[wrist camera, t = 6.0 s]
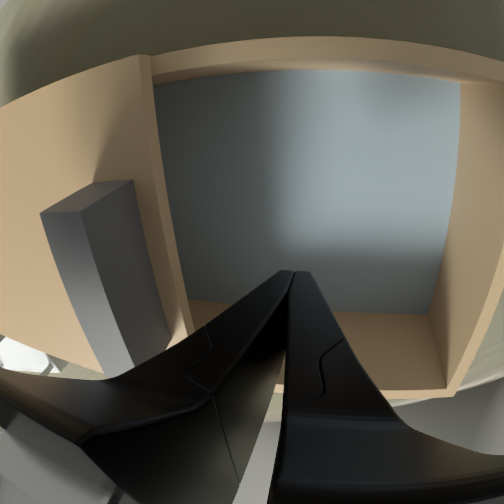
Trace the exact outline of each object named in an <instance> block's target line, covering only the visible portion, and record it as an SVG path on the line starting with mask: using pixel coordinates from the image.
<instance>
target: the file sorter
mask: <svg viewBox="0 0 504 504" xmlns="http://www.w3.org/2000/svg"><path fill="white" fill-rule="evenodd" d="M67 364H68V361H65V360H63V359H60V358H57V357H54V356H52V355H49V354H46V353H44V352H41V351H39V350H36V349H34V348H31V347H29V346H26V345H24V344H22V343H19V342H17V341H15V340H12V339H10V338H8V337H5V336H3V335H1V334H0V367H3V368H4V369H7V370H15V371H29V372H42V373H41V374H40V376H47V375H48V374H49V373H60V372H61V371H62V370H63V369H64V368H65V367H66V366H67ZM2 430H3V428H2V427H1V426H0V433H1V431H2Z"/></svg>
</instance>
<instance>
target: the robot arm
mask: <svg viewBox="0 0 504 504" xmlns="http://www.w3.org/2000/svg"><path fill="white" fill-rule="evenodd" d="M284 358H285V372H284V389H283V408H282V420H281V429H280V435H279V441H278V447H277V452H276V458H275V463H274V469H273V474H272V479H271V484H270V489H269V495H268V500H267V504H504V455H489V454H483V453H479V452H475V451H472V450H469V449H466V448H463V447H460V446H457V445H455V444H451V443H449V442H446V441H443V440H440V439H438V438H435V437H432V436H430V435H427V434H424V433H422V432H419V431H417V430H414V429H413V428H411V427H410V426H408V425H407V424H406V423H405V422H404V421H403V420H401V418H400V417H399V416H398V415H397V413H396V412H395V411H394V409H393V408H392V407H391V405H390V404H389V403H388V401H387V400H386V398H385V397H384V396H383V394H382V393H381V392H380V390H379V389H378V388H377V386H376V385H375V383H374V382H373V381H372V379H371V378H370V377H369V375H368V374H367V372H366V371H365V369H364V368H363V366H362V365H361V364H360V362H359V360H358V358H357V357H356V355H355V353H354V351H353V350H352V348H351V346H350V344H349V342H348V340H346V337H345V335H344V333H343V331H342V329H341V327H340V325H339V323H338V321H337V320H336V318H335V316H334V314H333V312H332V310H331V308H330V307H329V305H328V303H327V301H326V299H325V297H324V295H323V294H322V292H321V290H320V288H319V286H318V284H317V283H316V281H315V279H314V277H313V275H312V273H311V272H310V271H296V272H295V271H293V270H279V271H278V272H277V273H275V274H274V275H273V276H271V277H270V278H268V279H267V280H266V281H264V282H263V283H262V284H260V285H259V286H258V287H256V288H255V289H253V290H252V291H251V292H249V293H248V294H247V295H245V296H244V297H243V298H241V299H240V300H238V301H237V302H236V303H234V304H233V305H231V306H230V307H229V308H227V309H226V310H225V311H223V312H222V313H220V314H219V315H218V316H216V317H215V318H213V319H212V320H211V321H209V322H208V323H206V324H205V326H202V327H201V328H199V329H198V330H196V331H195V332H194V333H192V334H191V335H189V336H188V337H186V338H184V339H183V340H181V341H180V342H178V343H177V344H175V345H173V346H172V347H170V348H168V349H166V350H165V351H163V352H161V353H160V354H158V355H156V356H154V357H152V358H150V359H149V360H147V361H145V362H143V363H141V364H139V365H138V366H136V367H134V368H132V369H130V370H128V371H126V372H124V373H122V374H120V375H118V376H116V377H113V378H110V379H105V380H80V379H68V378H58V377H48V376H40V375H32V374H25V373H19V372H15V371H10V370H7V369H4V368H2V367H0V426H1V427H2V428H3V430H2V431H1V433H0V504H232V503H233V500H234V498H235V495H236V493H237V490H238V488H239V484H240V483H241V480H242V478H243V475H244V472H245V470H246V467H247V465H248V462H249V459H250V457H251V454H252V451H253V448H254V446H255V443H256V440H257V437H258V435H259V432H260V429H261V427H262V424H263V421H264V418H265V415H266V412H267V409H268V407H269V404H270V401H271V398H272V395H273V392H274V389H275V386H276V383H277V380H278V377H279V374H280V371H281V368H282V365H283V361H284Z"/></svg>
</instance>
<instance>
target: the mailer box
mask: <svg viewBox="0 0 504 504" xmlns="http://www.w3.org/2000/svg"><path fill="white" fill-rule="evenodd" d="M150 63H151V74H152V84H153V94H154V103H155V111H156V120H157V128H158V135H159V143H160V150H161V157H162V164H163V171H164V177H165V184H166V190H167V196H168V202H169V208H170V214H171V219H172V225H173V230H174V236H175V241H176V246H177V251H178V256H179V261H180V266H181V271H182V276H183V281H184V286H185V290H186V295H187V300H188V304H189V308H190V313H191V317H192V322H193V326H194V330H195V331H196V330H198V329H199V328H201V327H202V326H205V324H206V323H208V322H209V321H211V320H212V319H213V318H215V317H216V316H218V315H219V314H220V313H222V312H223V311H225V310H226V309H227V308H229V307H230V306H231V305H233V304H234V303H236V302H237V301H238V300H240V299H241V298H243V297H244V296H245V295H247V294H248V293H249V292H251V291H252V290H253V289H255V288H256V287H258V286H259V285H260V284H262V283H263V282H264V281H266V280H267V279H268V278H270V277H271V276H273V275H274V274H275V273H277V272H278V271H279V270H293V271H295V272H296V271H310V272H311V273H312V275H313V277H314V279H315V281H316V283H317V284H318V286H319V288H320V290H321V292H322V294H323V295H324V297H325V299H326V301H327V303H328V305H329V307H330V308H331V310H332V312H333V314H334V316H335V318H336V320H337V321H338V323H339V325H340V327H341V329H342V331H343V333H344V335H345V337H346V340H348V342H349V344H350V346H351V348H352V350H353V351H354V353H355V355H356V357H357V358H358V360H359V362H360V364H361V365H362V366H363V368H364V369H365V371H366V372H367V374H368V375H369V377H370V378H371V379H372V381H373V382H374V383H375V385H376V386H377V388H378V389H379V390H380V392H381V393H382V394H383V396H384V397H385V398H386V399H407V398H436V397H452V396H454V395H455V393H456V391H457V389H458V388H459V386H460V384H461V382H462V380H463V378H464V377H465V375H466V373H467V371H468V369H469V367H470V365H471V363H472V361H473V359H474V357H475V355H476V353H477V351H478V349H479V347H480V344H481V342H482V340H483V338H484V336H485V333H486V331H487V329H488V326H489V324H490V322H491V319H492V317H493V314H494V312H495V309H496V307H497V304H498V302H499V299H500V296H501V293H502V291H503V288H504V62H502V61H499V60H495V59H492V58H488V57H484V56H480V55H476V54H472V53H468V52H464V51H459V50H454V49H449V48H444V47H439V46H433V45H427V44H420V43H413V42H405V41H397V40H387V39H376V38H362V37H338V36H302V37H278V38H264V39H252V40H242V41H234V42H226V43H218V44H212V45H205V46H199V47H193V48H188V49H182V50H177V51H173V52H168V53H163V54H159V55H154V56H150ZM284 372H285V358H284V361H283V365H282V368H281V371H280V374H279V377H278V380H277V383H276V386H275V389H274V392H278V393H283V389H284Z"/></svg>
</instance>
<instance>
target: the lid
mask: <svg viewBox="0 0 504 504" xmlns="http://www.w3.org/2000/svg"><path fill="white" fill-rule="evenodd" d="M194 332H195V330H194V326H193V322H192V317H191V313H190V308H189V304H188V300H187V295H186V290H185V286H184V281H183V276H182V271H181V266H180V261H179V256H178V251H177V246H176V241H175V236H174V230H173V225H172V219H171V214H170V208H169V202H168V196H167V190H166V184H165V177H164V171H163V164H162V157H161V150H160V143H159V135H158V128H157V120H156V111H155V103H154V94H153V84H152V74H151V63H150V55H144V54H137V55H133V56H130V57H126V58H123V59H119V60H116V61H113V62H109V63H106V64H103V65H100V66H97V67H94V68H91V69H88V70H85V71H83V72H80V73H77V74H74V75H72V76H69V77H66V78H64V79H61V80H59V81H56V82H54V83H52V84H49V85H47V86H45V87H42V88H40V89H38V90H35V91H33V92H31V93H29V94H27V95H25V96H22V97H20V98H18V99H16V100H14V101H12V102H10V103H8V104H6V105H4V106H2V107H1V108H0V334H1V335H3V336H5V337H8V338H10V339H12V340H15V341H17V342H19V343H22V344H24V345H26V346H29V347H31V348H34V349H36V350H39V351H41V352H44V353H46V354H49V355H52V356H54V357H57V358H60V359H63V360H65V361H68V362H71V363H74V364H77V365H80V366H83V367H86V368H89V369H92V370H95V371H98V372H101V373H104V374H105V375H106V376H107V377H111V378H113V377H116V376H118V375H120V374H122V373H124V372H126V371H128V370H130V369H132V368H134V367H136V366H138V365H139V364H141V363H143V362H145V361H147V360H149V359H150V358H152V357H154V356H156V355H158V354H160V353H161V352H163V351H165V350H166V349H168V348H170V347H172V346H173V345H175V344H177V343H178V342H180V341H181V340H183V339H184V338H186V337H188V336H189V335H191V334H192V333H194Z"/></svg>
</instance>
